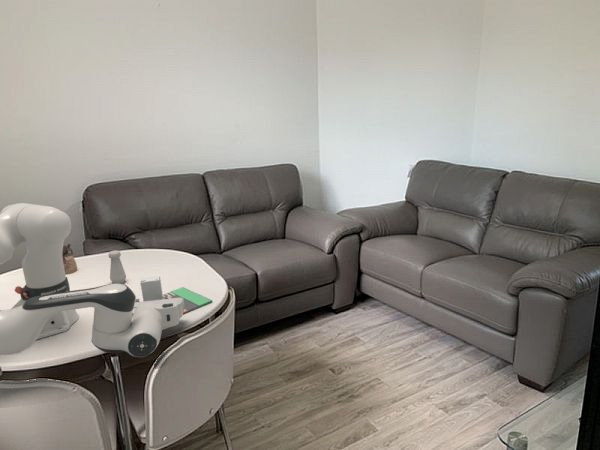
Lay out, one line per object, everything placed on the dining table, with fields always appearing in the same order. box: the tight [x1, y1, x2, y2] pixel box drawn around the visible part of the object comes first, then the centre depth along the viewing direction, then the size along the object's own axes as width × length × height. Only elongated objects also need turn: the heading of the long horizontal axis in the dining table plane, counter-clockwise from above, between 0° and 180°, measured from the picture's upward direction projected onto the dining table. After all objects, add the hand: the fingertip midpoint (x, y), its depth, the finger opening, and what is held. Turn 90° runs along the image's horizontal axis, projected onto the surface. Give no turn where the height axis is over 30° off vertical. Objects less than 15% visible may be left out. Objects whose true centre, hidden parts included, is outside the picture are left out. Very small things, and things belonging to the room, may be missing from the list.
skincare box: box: [140, 275, 164, 302], centre depth 148 cm, size 6×4×12 cm
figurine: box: [62, 243, 78, 276], centre depth 187 cm, size 7×7×12 cm
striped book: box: [163, 287, 213, 315], centre depth 157 cm, size 13×18×1 cm
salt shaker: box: [108, 250, 127, 284], centre depth 173 cm, size 6×6×13 cm
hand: (152, 299), depth 145 cm, fingers open, 8 cm apart
